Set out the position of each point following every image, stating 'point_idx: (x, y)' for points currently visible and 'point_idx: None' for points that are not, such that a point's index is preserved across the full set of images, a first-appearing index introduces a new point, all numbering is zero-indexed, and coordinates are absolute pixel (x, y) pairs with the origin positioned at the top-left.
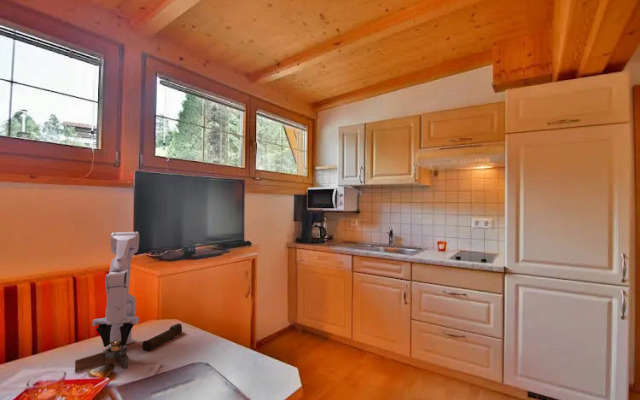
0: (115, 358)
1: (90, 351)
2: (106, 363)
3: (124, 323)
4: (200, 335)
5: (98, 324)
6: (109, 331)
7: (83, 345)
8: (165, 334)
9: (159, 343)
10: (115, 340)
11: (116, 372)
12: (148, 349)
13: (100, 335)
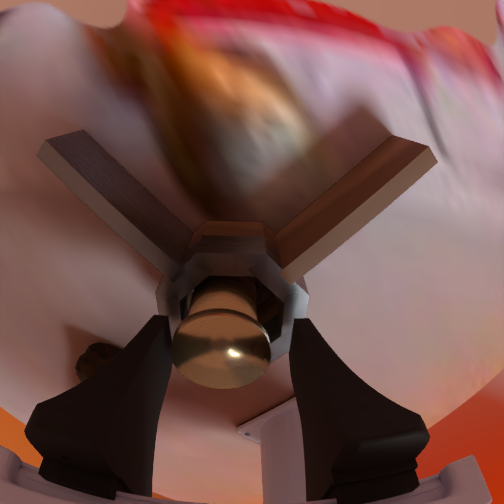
0: (195, 239)
1: (405, 365)
2: (253, 222)
3: (99, 493)
4: (21, 412)
5: (423, 485)
6: (307, 442)
7: (439, 400)
8: None
9: None
10: (242, 375)
11: (112, 91)
12: (99, 347)
13: (362, 382)
